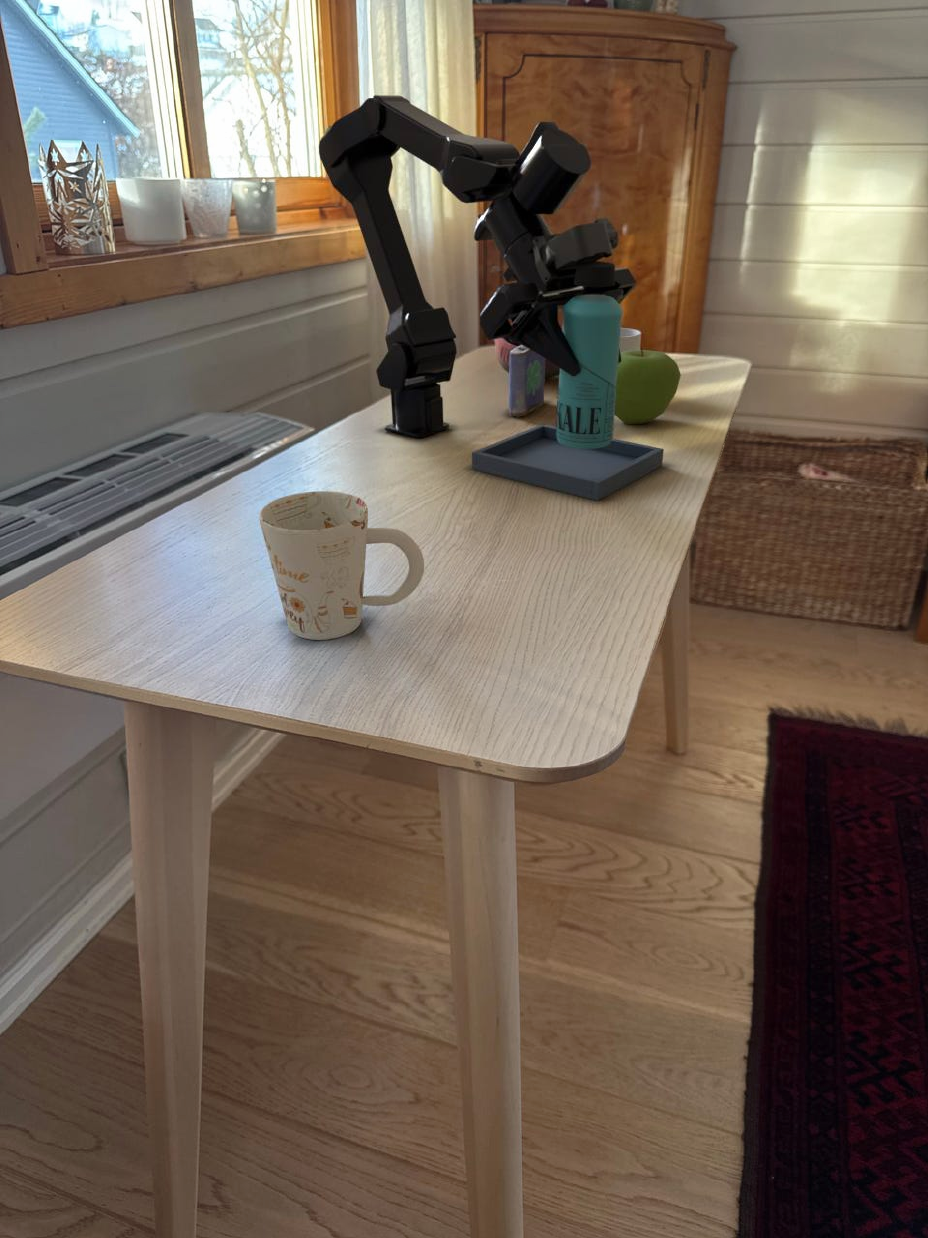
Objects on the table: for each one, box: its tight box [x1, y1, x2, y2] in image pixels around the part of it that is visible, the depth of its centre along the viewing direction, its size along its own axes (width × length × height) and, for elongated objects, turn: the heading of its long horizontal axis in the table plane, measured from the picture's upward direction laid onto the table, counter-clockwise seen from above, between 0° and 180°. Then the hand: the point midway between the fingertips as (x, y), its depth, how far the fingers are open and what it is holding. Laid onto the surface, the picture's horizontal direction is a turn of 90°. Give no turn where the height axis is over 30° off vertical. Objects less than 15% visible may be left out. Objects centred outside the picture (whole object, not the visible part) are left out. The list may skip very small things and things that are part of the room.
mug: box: [258, 490, 425, 641], centre depth 72 cm, size 8×13×10 cm, turn 95°
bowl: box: [492, 323, 560, 380], centre depth 145 cm, size 16×13×8 cm
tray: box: [471, 423, 665, 502], centre depth 107 cm, size 18×15×2 cm
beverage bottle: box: [555, 260, 624, 449], centre depth 95 cm, size 6×7×20 cm
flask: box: [507, 345, 546, 418], centre depth 128 cm, size 9×3×11 cm, turn 151°
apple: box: [614, 347, 682, 425], centre depth 122 cm, size 11×10×10 cm
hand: (597, 368), depth 94 cm, fingers closed on beverage bottle, 6 cm apart
